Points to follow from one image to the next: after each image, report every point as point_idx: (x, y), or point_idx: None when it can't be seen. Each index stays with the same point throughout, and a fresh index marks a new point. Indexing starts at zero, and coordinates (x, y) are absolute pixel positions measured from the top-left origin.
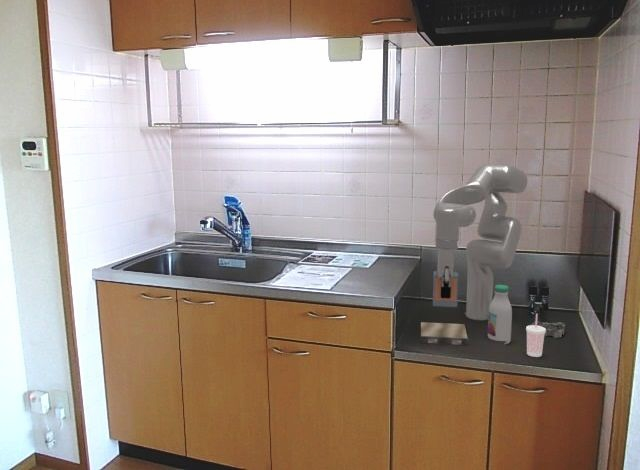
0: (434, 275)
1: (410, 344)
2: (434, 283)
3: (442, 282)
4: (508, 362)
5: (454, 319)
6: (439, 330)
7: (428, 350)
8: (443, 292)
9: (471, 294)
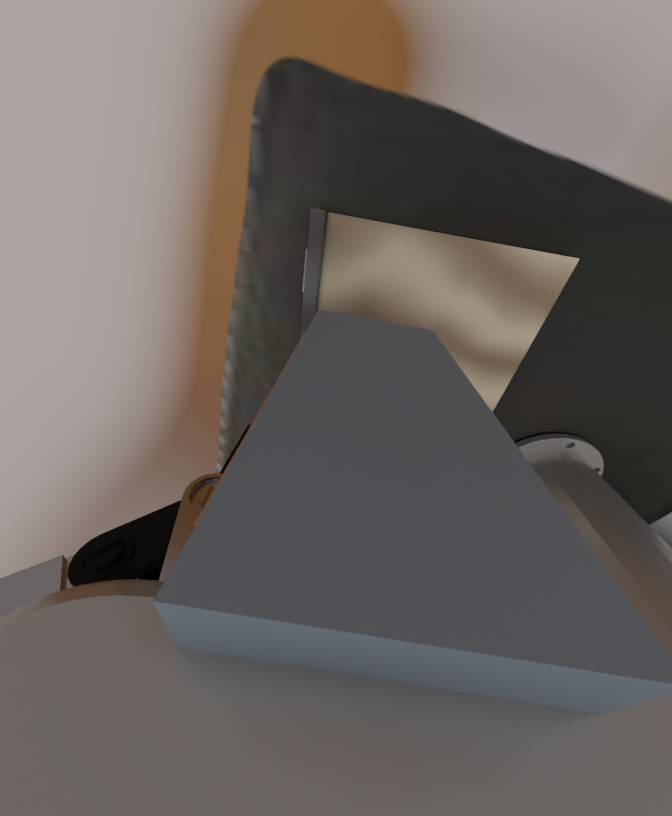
0: (172, 586)
1: (344, 155)
2: (258, 424)
3: (174, 534)
4: (228, 452)
5: (574, 409)
6: (445, 327)
7: (281, 243)
8: (238, 442)
9: (591, 536)
